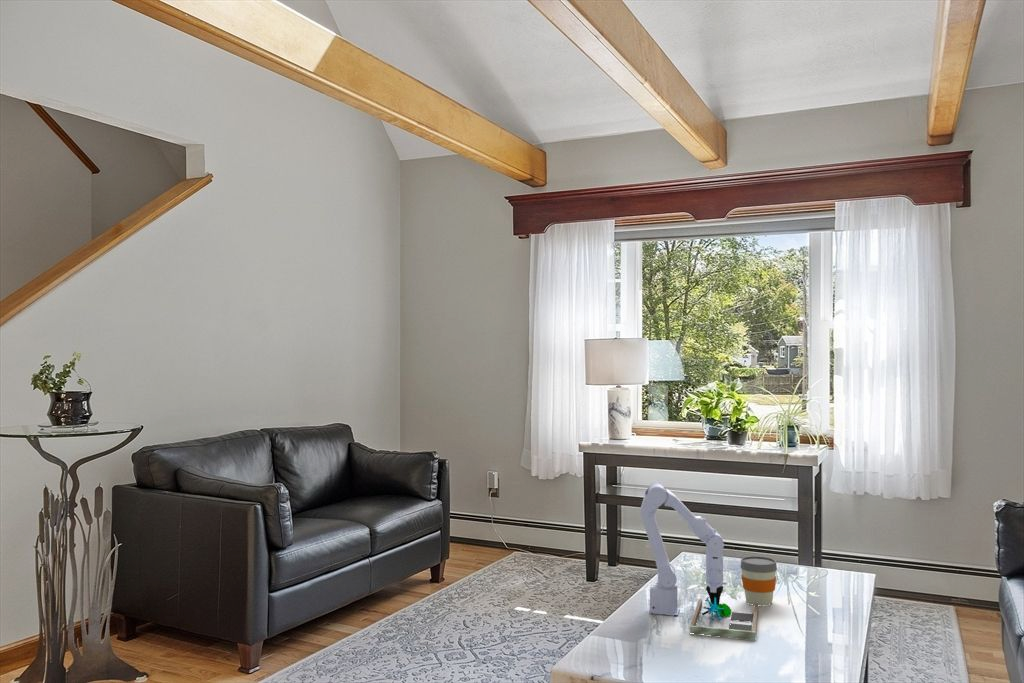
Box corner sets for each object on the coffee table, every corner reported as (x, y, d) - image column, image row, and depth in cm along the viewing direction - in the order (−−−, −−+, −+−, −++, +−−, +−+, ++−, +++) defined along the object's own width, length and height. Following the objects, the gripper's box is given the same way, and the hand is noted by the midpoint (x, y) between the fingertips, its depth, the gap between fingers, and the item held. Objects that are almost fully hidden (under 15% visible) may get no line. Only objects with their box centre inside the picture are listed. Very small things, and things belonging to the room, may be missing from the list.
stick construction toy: (711, 616, 274) (705, 594, 279) (696, 624, 278) (691, 601, 283) (736, 620, 280) (730, 598, 285) (722, 628, 284) (716, 606, 289)
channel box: (690, 634, 264) (690, 626, 264) (699, 606, 293) (699, 599, 293) (755, 640, 258) (755, 632, 258) (758, 611, 286) (758, 603, 286)
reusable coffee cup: (738, 605, 293) (738, 563, 293) (743, 595, 304) (742, 554, 305) (776, 609, 288) (775, 566, 288) (778, 599, 300) (778, 557, 300)
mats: (728, 632, 266) (728, 631, 266) (732, 612, 285) (732, 612, 285) (751, 634, 264) (750, 633, 264) (753, 614, 283) (753, 613, 283)
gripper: (725, 574, 276) (725, 615, 276) (727, 563, 290) (728, 602, 290) (703, 573, 279) (704, 613, 278) (707, 562, 292) (707, 600, 292)
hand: (715, 607), depth 284 cm, fingers closed
